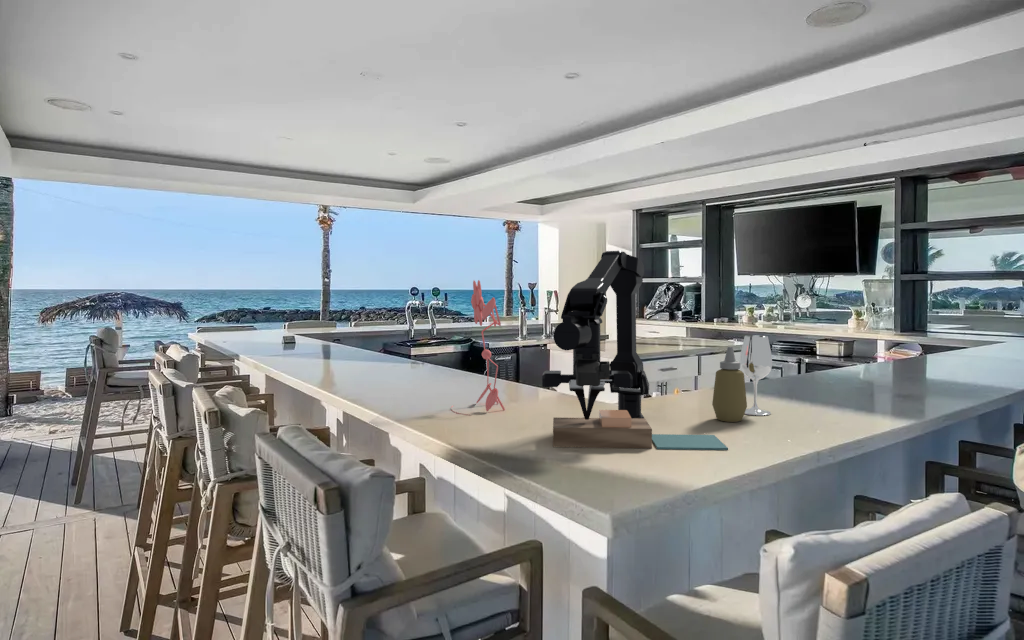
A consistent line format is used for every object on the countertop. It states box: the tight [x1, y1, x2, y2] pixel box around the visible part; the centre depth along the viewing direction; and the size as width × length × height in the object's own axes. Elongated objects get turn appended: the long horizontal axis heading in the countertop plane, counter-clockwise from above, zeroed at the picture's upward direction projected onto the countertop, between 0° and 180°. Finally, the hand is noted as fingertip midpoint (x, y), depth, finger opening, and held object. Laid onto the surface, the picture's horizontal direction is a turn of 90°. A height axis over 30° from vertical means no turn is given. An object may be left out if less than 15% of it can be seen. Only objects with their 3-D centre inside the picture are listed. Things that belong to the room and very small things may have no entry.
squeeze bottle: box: [711, 346, 748, 423], centre depth 150 cm, size 8×8×18 cm
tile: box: [598, 409, 631, 428], centre depth 130 cm, size 8×6×2 cm
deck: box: [552, 417, 653, 449], centre depth 130 cm, size 10×20×4 cm, turn 86°
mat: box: [652, 433, 729, 451], centre depth 129 cm, size 11×14×1 cm
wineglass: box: [739, 334, 773, 417], centre depth 158 cm, size 8×8×20 cm
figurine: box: [451, 279, 506, 416], centre depth 166 cm, size 15×26×35 cm, turn 12°
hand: (586, 419), depth 130 cm, fingers closed
